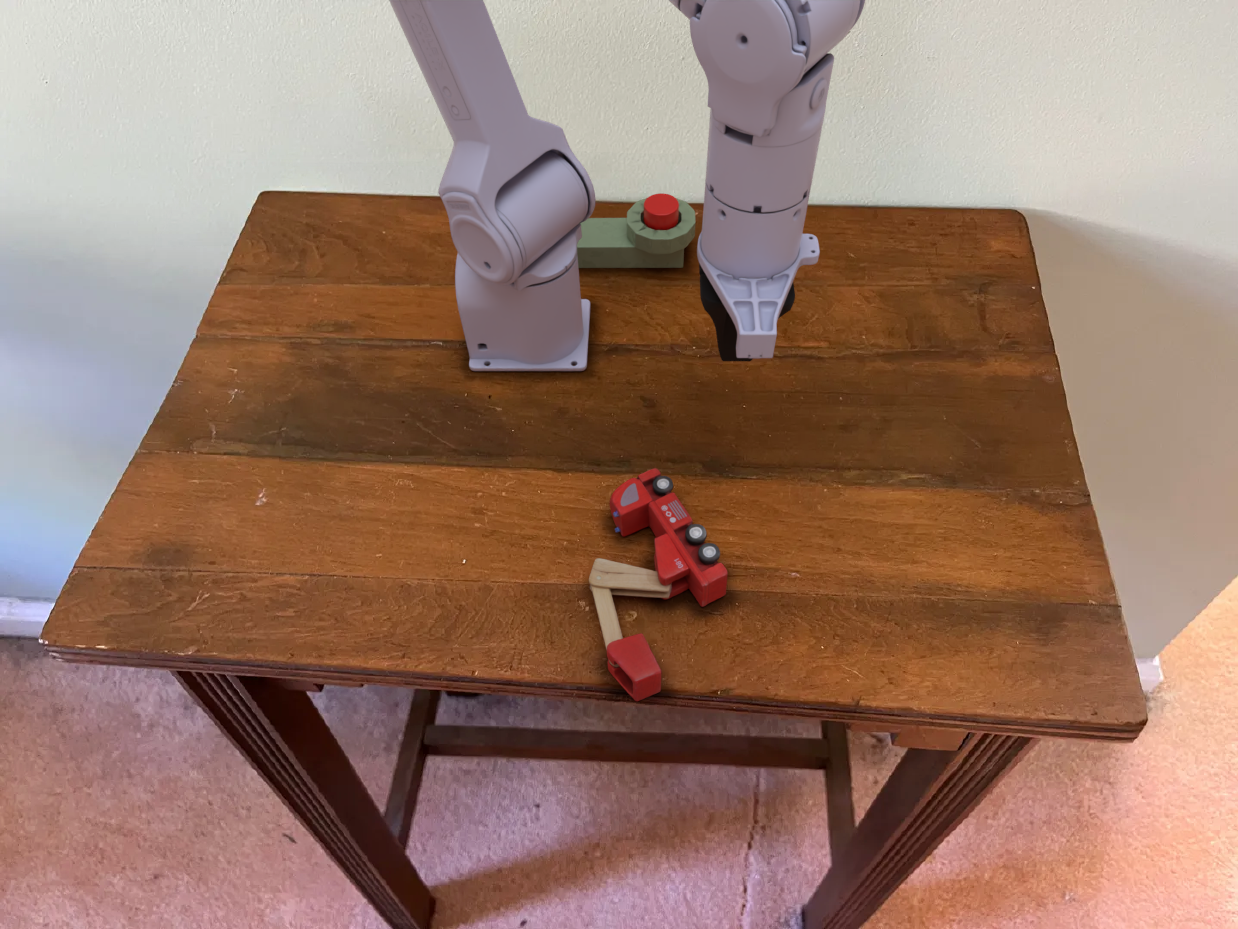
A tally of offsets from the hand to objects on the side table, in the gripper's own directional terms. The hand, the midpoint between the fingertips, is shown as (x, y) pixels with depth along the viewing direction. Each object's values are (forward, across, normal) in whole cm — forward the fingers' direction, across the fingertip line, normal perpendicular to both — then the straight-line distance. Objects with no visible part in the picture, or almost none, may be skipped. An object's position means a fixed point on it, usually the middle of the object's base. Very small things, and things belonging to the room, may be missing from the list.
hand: (736, 353), depth 58 cm
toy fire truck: (+7, -10, +2) cm, 13 cm away
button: (+6, +21, +5) cm, 22 cm away
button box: (+9, +21, +8) cm, 24 cm away
